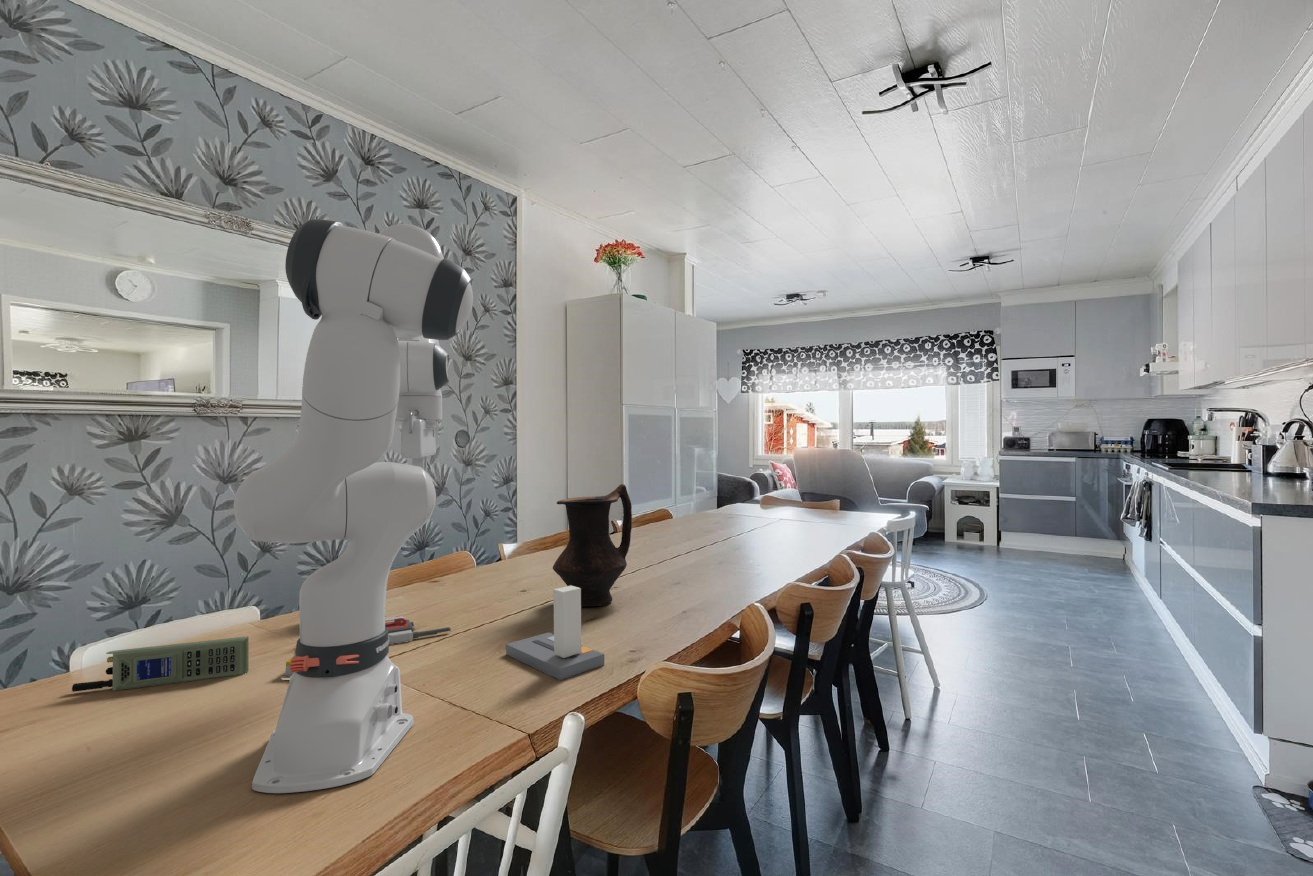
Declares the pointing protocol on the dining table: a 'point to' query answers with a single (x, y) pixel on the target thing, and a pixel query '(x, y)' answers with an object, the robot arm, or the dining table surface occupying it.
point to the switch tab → (567, 621)
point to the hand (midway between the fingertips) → (420, 479)
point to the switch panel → (553, 656)
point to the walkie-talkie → (406, 630)
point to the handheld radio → (173, 664)
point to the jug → (594, 546)
